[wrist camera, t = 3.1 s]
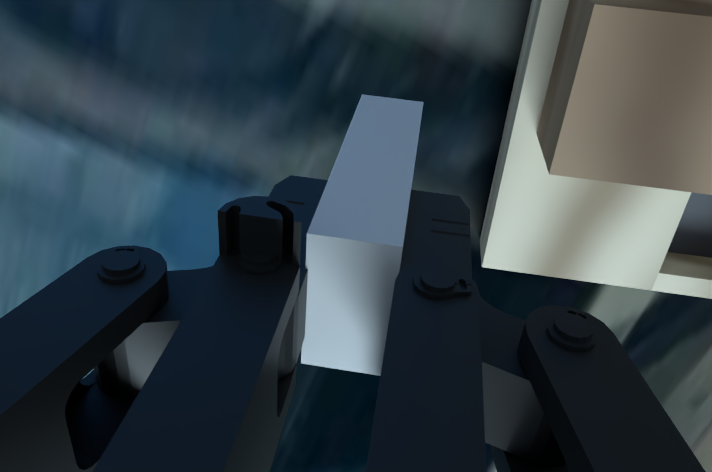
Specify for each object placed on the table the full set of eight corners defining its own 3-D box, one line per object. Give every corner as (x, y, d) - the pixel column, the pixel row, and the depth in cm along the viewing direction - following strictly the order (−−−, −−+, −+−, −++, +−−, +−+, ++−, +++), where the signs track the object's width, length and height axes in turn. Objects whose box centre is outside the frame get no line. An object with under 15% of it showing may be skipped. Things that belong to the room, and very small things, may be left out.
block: (536, 133, 26) (549, 174, 23) (573, -18, 23) (594, 4, 20) (681, 151, 26) (716, 195, 23) (739, 0, 23) (790, 25, 19)
